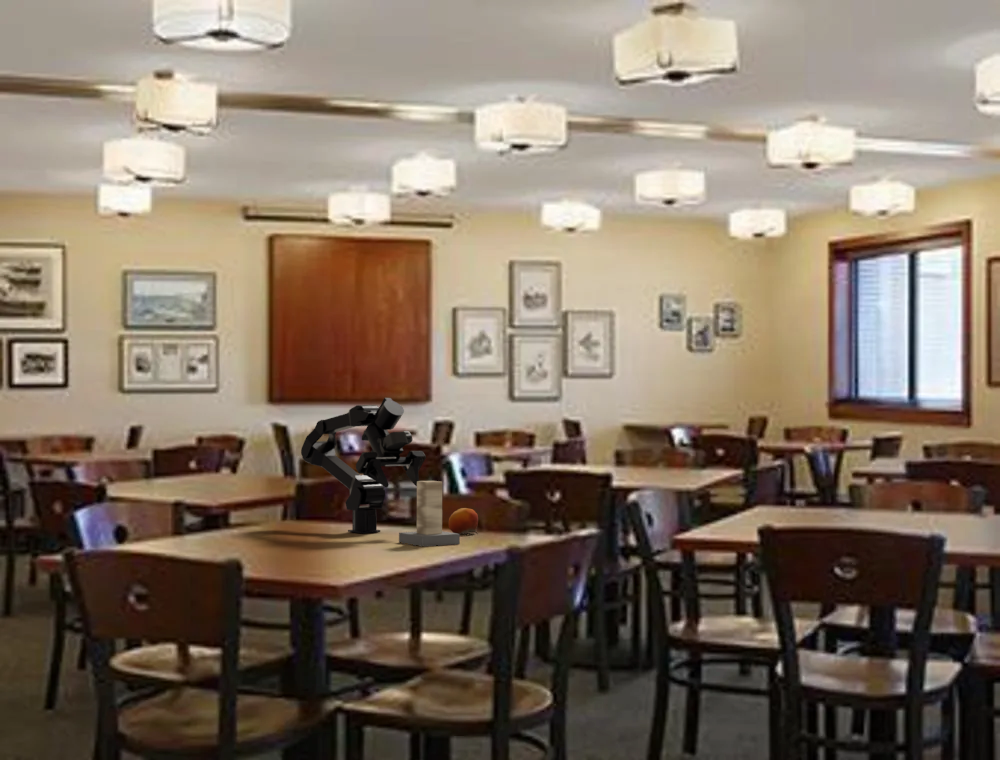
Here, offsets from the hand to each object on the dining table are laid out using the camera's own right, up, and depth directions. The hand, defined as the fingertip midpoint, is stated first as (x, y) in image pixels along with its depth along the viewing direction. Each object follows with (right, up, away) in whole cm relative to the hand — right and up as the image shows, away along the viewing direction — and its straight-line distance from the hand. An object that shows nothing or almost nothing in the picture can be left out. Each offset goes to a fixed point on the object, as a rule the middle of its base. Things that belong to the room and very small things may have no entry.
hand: (402, 485), depth 367 cm
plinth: (+7, -13, -12) cm, 19 cm away
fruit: (+15, -14, +13) cm, 25 cm away
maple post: (+7, -11, -12) cm, 18 cm away
